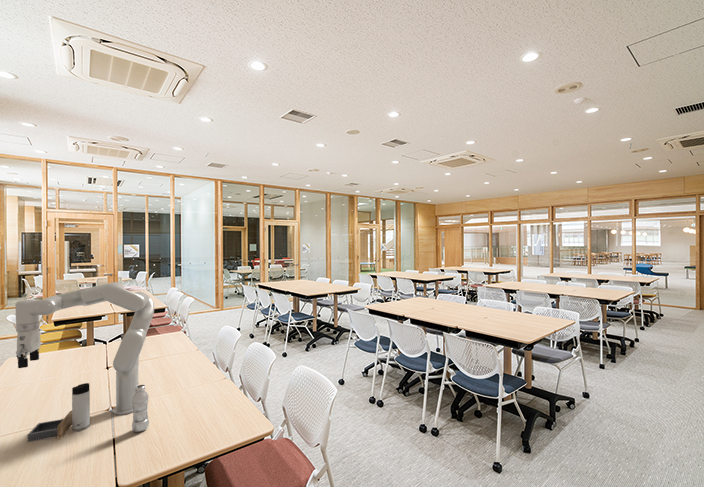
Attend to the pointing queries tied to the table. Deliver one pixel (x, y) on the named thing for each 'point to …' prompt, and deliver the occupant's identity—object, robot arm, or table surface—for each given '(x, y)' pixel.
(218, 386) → the table surface
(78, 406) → the travel mug
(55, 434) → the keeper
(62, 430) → the board
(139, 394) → the plastic bottle
